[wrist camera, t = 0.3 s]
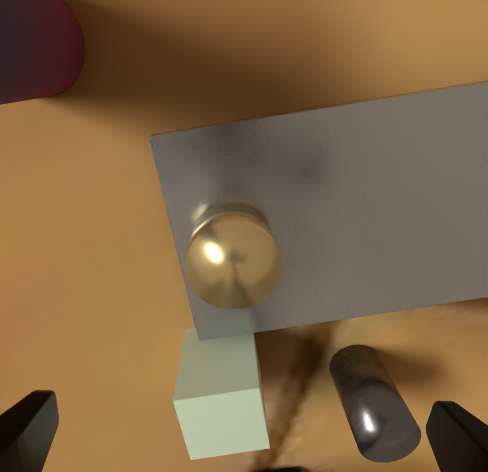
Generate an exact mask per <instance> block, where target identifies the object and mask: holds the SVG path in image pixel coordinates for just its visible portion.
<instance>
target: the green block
mask: <svg viewBox="0 0 488 472" xmlns="http://www.w3.org/2000/svg"><path fill="white" fill-rule="evenodd" d="M173 403H174V406H175V409H176V413H177V416H178V419H179V423H180V426H181V429H182V433H183V436H184V439H185V443H186V446H187V449H188V452H189V456H190V459H191V460H194V459H201V458H208V457H215V456H221V455H228V454H235V453H242V452H248V451H255V450H262V449H268V448H270V445H269V437H268V429H267V421H266V413H265V405H264V397H263V389H262V381H261V372H260V366H259V360H258V354H257V348H256V342H255V336H254V333H250V334H243V335H236V336H230V337H223V338H217V339H210V340H204V341H199V339H198V335H197V331H196V328H190V329H185V334H184V340H183V346H182V351H181V357H180V363H179V369H178V375H177V380H176V386H175V392H174V398H173Z"/></svg>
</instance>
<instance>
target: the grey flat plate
mask: <svg viewBox="0 0 488 472" xmlns="http://www.w3.org/2000/svg"><path fill="white" fill-rule="evenodd" d="M149 139H150V143H151V147H152V151H153V155H154V159H155V163H156V167H157V171H158V175H159V180H160V184H161V188H162V192H163V196H164V200H165V204H166V208H167V212H168V216H169V221H170V225H171V229H172V233H173V237H174V241H175V245H176V249H177V253H178V257H179V262H180V266H181V270H182V274H183V278H184V282H185V286H186V290H187V294H188V298H189V303H190V307H191V311H192V315H193V319H194V323H195V327H196V331H197V335H198V339H199V341H204V340H210V339H217V338H223V337H230V336H236V335H243V334H250V333H256V332H263V331H269V330H276V329H282V328H289V327H295V326H302V325H308V324H315V323H321V322H328V321H334V320H341V319H348V318H354V317H361V316H367V315H374V314H380V313H387V312H393V311H400V310H406V309H413V308H419V307H426V306H432V305H439V304H446V303H452V302H459V301H465V300H472V299H478V298H485V297H488V81H483V82H476V83H470V84H464V85H458V86H451V87H445V88H439V89H433V90H426V91H420V92H414V93H408V94H401V95H395V96H389V97H383V98H376V99H370V100H364V101H358V102H351V103H345V104H339V105H333V106H326V107H320V108H314V109H308V110H301V111H295V112H289V113H283V114H276V115H270V116H264V117H258V118H251V119H245V120H239V121H233V122H226V123H220V124H214V125H208V126H201V127H195V128H189V129H183V130H176V131H170V132H164V133H158V134H153V135H151V136H149ZM225 203H240V204H244V205H248V206H250V207H252V208H254V209H256V210H257V211H259V212H260V213H261V214H262V215H263V216H264V217H265V218H266V220H267V221H268V222H269V224H270V226H271V229H272V232H273V235H274V238H275V241H276V244H277V247H278V250H279V253H280V256H281V262H282V269H281V275H280V278H279V281H278V283H277V285H276V287H275V288H274V290H273V291H272V292H271V293H270V294H269V295H268V296H267V297H266V298H265V299H264V300H262V301H261V302H259V303H257V304H255V305H253V306H250V307H247V308H242V309H223V308H219V307H215V306H213V305H210V304H208V303H206V302H205V301H203V300H202V299H201V298H200V297H198V296H197V295H196V294H195V292H194V291H193V290H192V288H191V287H190V285H189V283H188V281H187V278H186V274H185V259H186V255H187V251H188V247H189V243H190V239H191V235H192V231H193V228H194V226H195V224H196V222H197V221H198V219H199V218H200V217H201V216H202V215H203V214H204V213H205V212H206V211H208V210H209V209H211V208H213V207H215V206H218V205H221V204H225Z"/></svg>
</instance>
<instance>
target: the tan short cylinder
mask: <svg viewBox="0 0 488 472" xmlns="http://www.w3.org/2000/svg"><path fill="white" fill-rule="evenodd" d="M281 269H282V262H281V256H280V253H279V250H278V247H277V244H276V241H275V238H274V235H273V232H272V229H271V226H270V224H269V222H268V221H267V220H266V218H265V217H264V216H263V215H262V214H261V213H260V212H259V211H257V210H256V209H254V208H252V207H250V206H248V205H244V204H240V203H225V204H221V205H218V206H215V207H213V208H211V209H209V210H208V211H206V212H205V213H204V214H203V215H202V216H201V217H200V218H199V219H198V221H197V222H196V224H195V226H194V228H193V231H192V235H191V239H190V243H189V247H188V251H187V255H186V259H185V274H186V278H187V281H188V283H189V285H190V287H191V288H192V290H193V291H194V292H195V294H196V295H197V296H198V297H200V298H201V299H202V300H203V301H205V302H206V303H208V304H210V305H213V306H215V307H219V308H223V309H242V308H247V307H250V306H253V305H255V304H257V303H259V302H261V301H262V300H264V299H265V298H266V297H267V296H268V295H269V294H270V293H271V292H272V291H273V290H274V288H275V287H276V285H277V283H278V281H279V278H280V275H281Z"/></svg>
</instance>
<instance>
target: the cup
mask: <svg viewBox="0 0 488 472" xmlns="http://www.w3.org/2000/svg"><path fill="white" fill-rule="evenodd" d="M83 59H84V43H83V36H82V33H81V30H80V27H79V24H78V22H77V20H76V18H75V16H74V14H73V12H72V11H71V10H70V8H69V7H68V6H67V4H66V3H65V2H64V1H63V0H0V105H1V104H7V103H13V102H19V101H25V100H31V99H37V98H43V97H48V96H53V95H57V94H59V93H61V92H63V91H65V90H66V89H67V88H68V87H70V86H71V85H72V84H73V82H74V81H75V80H76V78H77V77H78V75H79V73H80V71H81V68H82V64H83Z"/></svg>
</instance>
